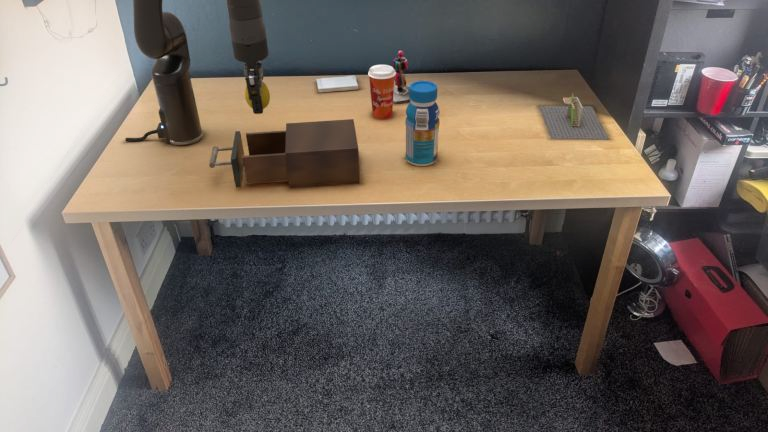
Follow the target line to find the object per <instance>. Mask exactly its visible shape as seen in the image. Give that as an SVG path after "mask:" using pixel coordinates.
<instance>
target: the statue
mask: <svg viewBox="0 0 768 432" xmlns="http://www.w3.org/2000/svg"><path fill="white" fill-rule="evenodd" d="M397 56H398V57H395V58H394V59H393V61H392V65H393V66H392V67H393V68H394V69H395V72H396V74H395V76H394V92H393V105H396V104H397V105H398V104H405V103H410V99H409V86H410V84H409V85H407V80H406V75H405V72H404V70H408V68H409V59H408V58H406V57H405V56H404V51H403V50H399V51H398V52H397Z"/></svg>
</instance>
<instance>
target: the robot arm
mask: <svg viewBox="0 0 768 432" xmlns="http://www.w3.org/2000/svg"><path fill="white" fill-rule="evenodd" d="M132 1H133V2H132V4H133V5H132V6H133V9H132V11H133V35H134V39H135V42H136V45H137V47H138V49H139V51H140V52H141V54H143V55H144V57H146V58H148V59H151V60H155V63H154V64H153V66H152V68H151V71H150V73H151V79H152V82H153V87H154V91H155V95H156V99H157V103H158V106H159V109H158V116H159V120H160V122H159V123H158V124H157V127H156V129H152V130H149V131H147V132H145V133H144V135H143V136H141V137H125V138H124V139H125V140H124V141H126V142H142V141H144V140H146V139H147V138H148V137H149V136H151V135H154V134H157V137H158V139H164V140H165V143H166V144H168V145H169V144H171V145H173V146H189V145H191V144H192V145H193V144H195V143H197V142H199V141H200V140H202V138H203V137H204V132H203V129H202V125H201V121H200V115H199V111H198V106H197V101H196V97H195V92H194V88H193V84H192V79H191V74H190V67H191V57H190V50H189V43H188V39H187V38H188V37H187V33H186V30H185V28H184V25H183V23H182V22H181V20H180V19H179V17H177V16H176V15H175V14H174V13H172V12H168V11H163V0H132ZM225 2H226V9H227V15H228V28H229V34H230V35H229V36H230V40H231V47H232V52H233V57H234V59H235V60H236V61H237V62H239V63H240V62H241V63H244V67H243V75H244V76H245V77H244V79H245V85H246V86H247V89H248V94H249V100H252V107H253V109H252V112H253V114H254V115H261V114H263V113H264V109H263V105H262V99H261V98H262V95H261V88H262V87H263V84H262V82H264V81H263V80H264V65H263V64H264V63H263V62H262V61H264V60H265V59H267V58H268V56H269V46H268V39H267V38H268V37H267V33H266V31H267V30H266V24H265V20H264V16H263V9H262V3H261V0H225ZM258 82H259V83H258ZM252 91H257V93H255V94H252Z"/></svg>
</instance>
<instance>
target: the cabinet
mask: <svg viewBox="0 0 768 432" xmlns="http://www.w3.org/2000/svg"><path fill="white" fill-rule="evenodd" d="M285 131H286V146H285V155H286V163H287V171H288V179H289V181H288V186H289V189H290V190H291V189H302V188H303V189H304V188H305V189H306V188H313V187H314V188H317V187H319V188H320V187H330V186H331V187H332V186H342V185H343V186H345V185H357V184H361V180H360V179H361V178H360V157H359V153H360V152H359V145H358V139H357V132H356V131H357V130H356V125H355V120H354V118H350V119H349V118H348V119H335V120H334V119H333V120H322V121H321V120H319V121H317V120H316V121H303V122H302V121H301V122H287V123H285Z"/></svg>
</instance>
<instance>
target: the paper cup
mask: <svg viewBox="0 0 768 432" xmlns="http://www.w3.org/2000/svg"><path fill="white" fill-rule="evenodd" d="M395 71H396V70H395V69H394V66H391V65H389V64H375V65H372V66H371V67H369V69H368V72H367V76H368V79H369V90H370V91H369V92H370V100H371V110H372V112H371V113H372V116H373V118H374V119H376V120H387V119H391V118H392V116H393V108H394V107H393V106H394V101H393V92H394V87H395V81H394V76H395V74H396V72H395Z"/></svg>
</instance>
